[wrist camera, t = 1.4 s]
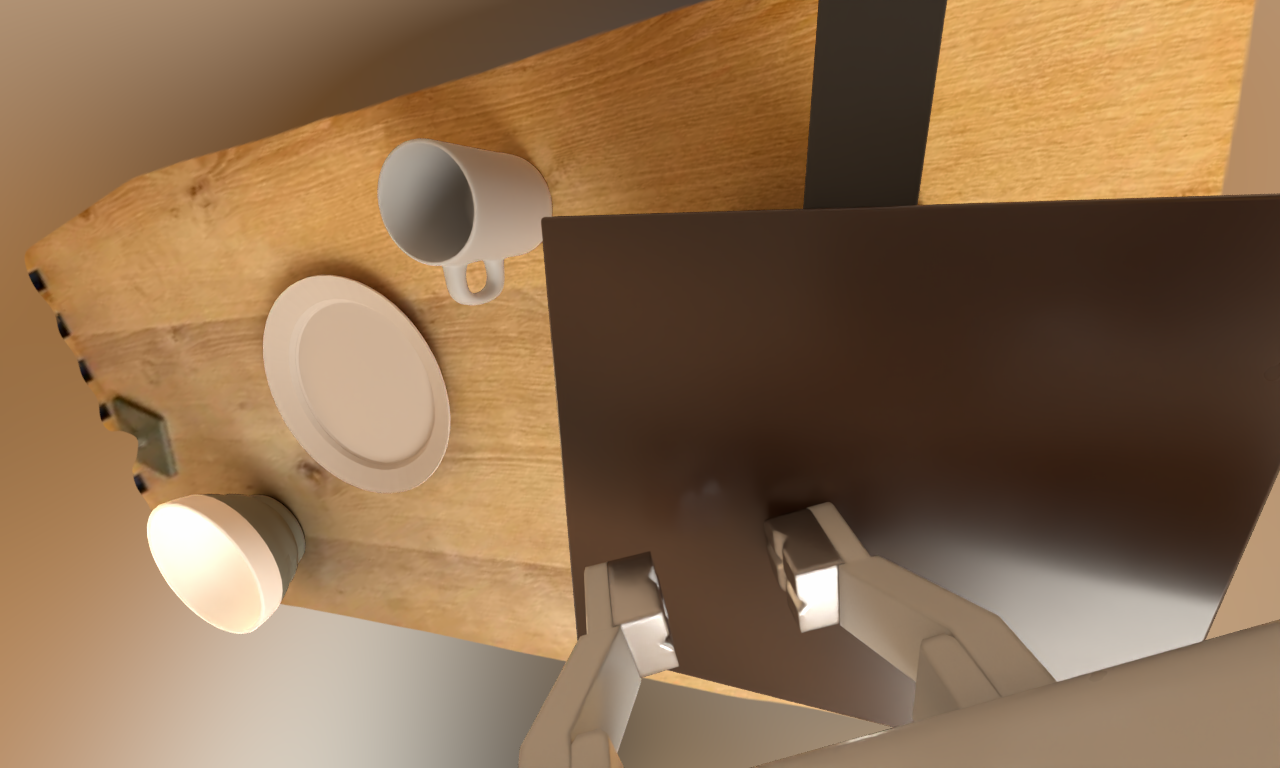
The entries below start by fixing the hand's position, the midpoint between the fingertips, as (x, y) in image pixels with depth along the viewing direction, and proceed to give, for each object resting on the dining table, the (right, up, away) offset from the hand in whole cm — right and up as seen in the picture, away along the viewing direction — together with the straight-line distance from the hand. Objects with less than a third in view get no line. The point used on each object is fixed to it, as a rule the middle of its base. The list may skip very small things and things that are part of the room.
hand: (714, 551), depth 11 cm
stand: (+12, +11, +27) cm, 32 cm away
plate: (-33, +4, +45) cm, 56 cm away
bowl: (-54, -17, +59) cm, 82 cm away
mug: (-13, +18, +34) cm, 40 cm away
